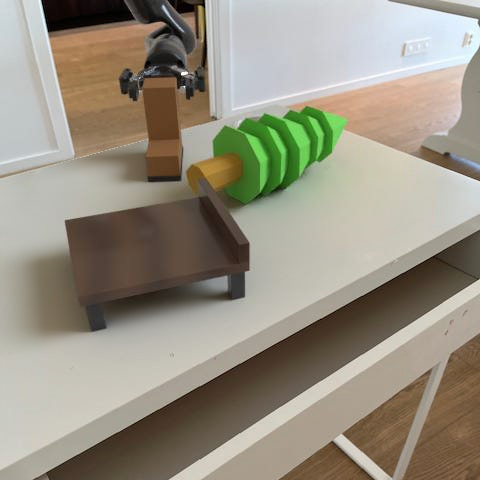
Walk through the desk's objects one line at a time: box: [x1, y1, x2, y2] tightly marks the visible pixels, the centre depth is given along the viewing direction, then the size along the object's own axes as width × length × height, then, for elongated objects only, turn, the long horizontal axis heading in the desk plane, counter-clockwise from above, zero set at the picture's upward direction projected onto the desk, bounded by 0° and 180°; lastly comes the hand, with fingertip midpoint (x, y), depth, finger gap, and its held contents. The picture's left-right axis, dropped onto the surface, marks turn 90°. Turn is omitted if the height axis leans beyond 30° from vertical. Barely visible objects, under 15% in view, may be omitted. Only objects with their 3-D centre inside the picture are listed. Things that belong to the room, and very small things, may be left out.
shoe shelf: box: [64, 178, 251, 332], centre depth 59 cm, size 18×16×7 cm
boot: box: [142, 77, 184, 183], centre depth 81 cm, size 5×12×12 cm, turn 3°
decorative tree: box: [185, 105, 349, 205], centre depth 76 cm, size 11×12×30 cm
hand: (161, 94), depth 81 cm, fingers open, 8 cm apart
